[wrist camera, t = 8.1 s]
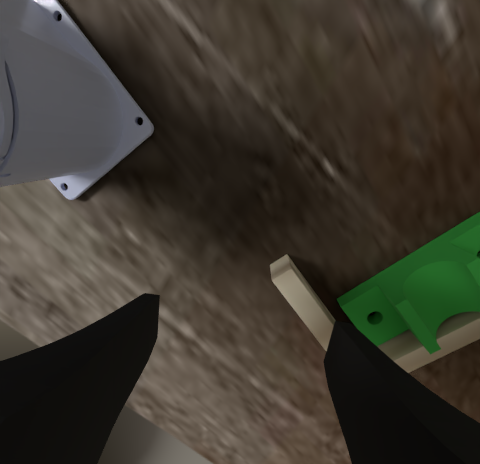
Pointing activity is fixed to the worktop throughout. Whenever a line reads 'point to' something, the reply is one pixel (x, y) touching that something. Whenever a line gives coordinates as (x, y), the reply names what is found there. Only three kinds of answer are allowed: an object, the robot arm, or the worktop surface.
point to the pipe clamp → (420, 289)
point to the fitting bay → (398, 348)
